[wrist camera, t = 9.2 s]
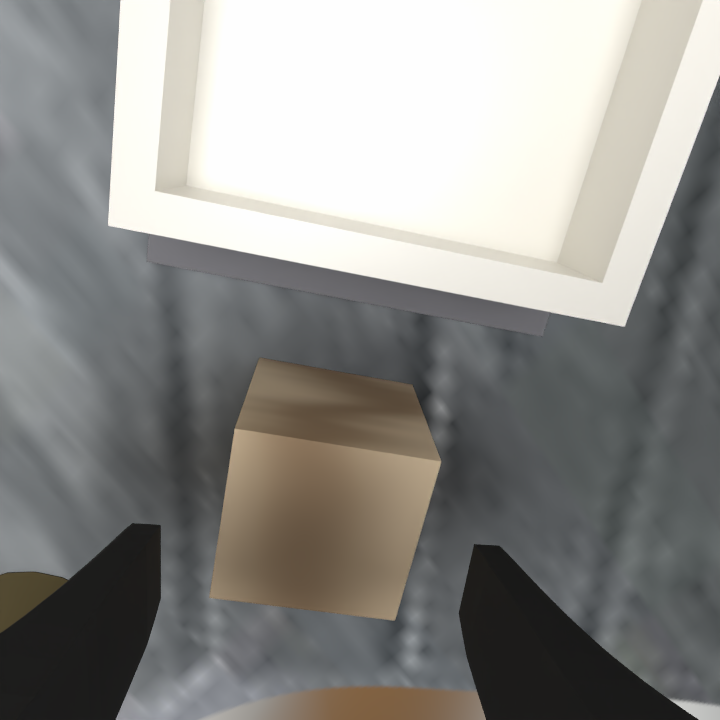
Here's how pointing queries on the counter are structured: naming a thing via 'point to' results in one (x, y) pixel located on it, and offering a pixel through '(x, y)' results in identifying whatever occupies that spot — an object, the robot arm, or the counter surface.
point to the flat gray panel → (344, 285)
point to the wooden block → (324, 492)
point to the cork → (24, 594)
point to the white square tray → (417, 137)
